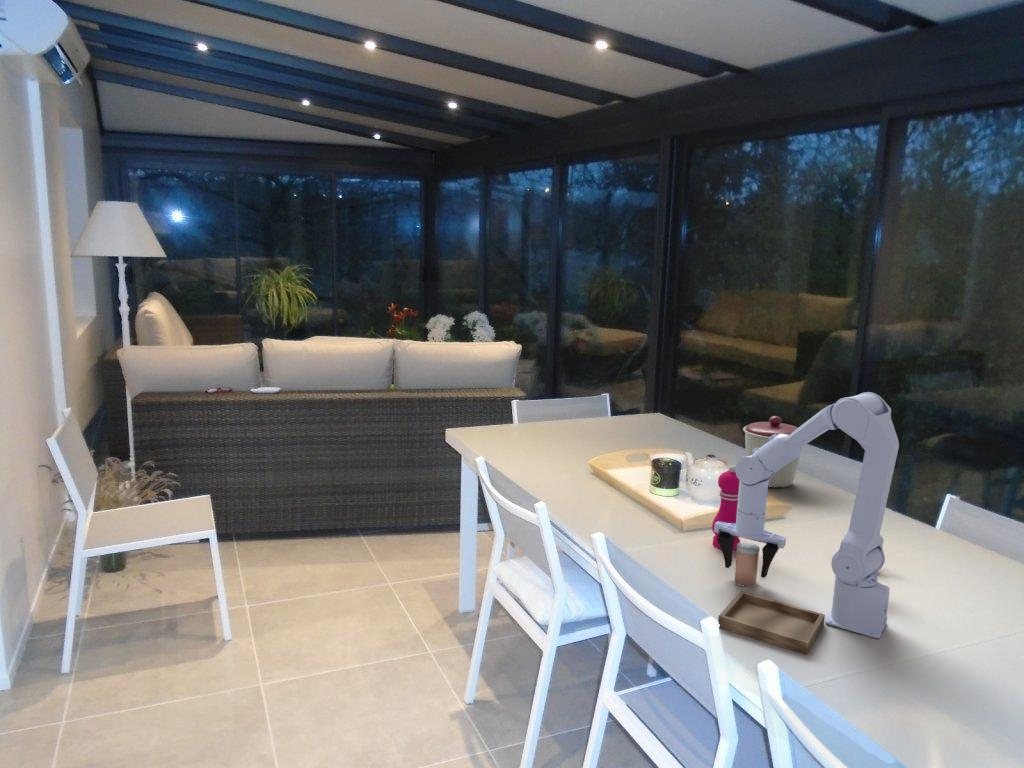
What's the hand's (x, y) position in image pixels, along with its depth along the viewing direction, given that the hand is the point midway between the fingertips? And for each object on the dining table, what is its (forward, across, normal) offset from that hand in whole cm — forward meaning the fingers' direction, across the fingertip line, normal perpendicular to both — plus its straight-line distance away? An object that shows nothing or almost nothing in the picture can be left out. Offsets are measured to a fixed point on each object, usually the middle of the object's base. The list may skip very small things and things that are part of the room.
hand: (746, 571), depth 157 cm
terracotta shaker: (+2, 0, 0) cm, 2 cm away
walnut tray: (+2, -10, +16) cm, 19 cm away
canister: (+3, +16, -74) cm, 76 cm away
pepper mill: (+3, +10, -17) cm, 20 cm away
